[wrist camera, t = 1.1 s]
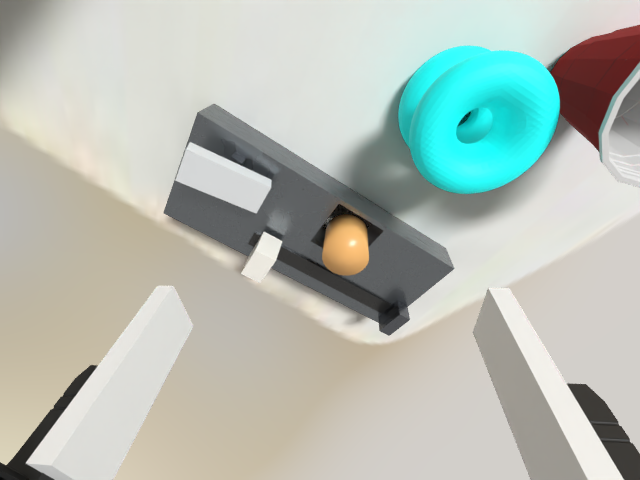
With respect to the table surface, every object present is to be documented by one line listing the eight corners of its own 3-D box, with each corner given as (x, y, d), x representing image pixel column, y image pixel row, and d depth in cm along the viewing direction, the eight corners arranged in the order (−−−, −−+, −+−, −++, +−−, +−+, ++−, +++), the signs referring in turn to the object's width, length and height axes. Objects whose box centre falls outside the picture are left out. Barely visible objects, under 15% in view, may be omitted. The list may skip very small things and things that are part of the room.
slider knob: (249, 253, 36) (240, 273, 33) (263, 231, 34) (255, 250, 31) (267, 263, 37) (260, 283, 34) (282, 241, 34) (275, 261, 32)
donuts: (385, 163, 23) (484, 16, 17) (377, 128, 31) (442, 20, 25) (487, 220, 25) (606, 104, 19) (454, 172, 33) (531, 81, 27)
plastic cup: (574, 157, 31) (677, 217, 21) (490, 106, 29) (560, 146, 19) (693, 42, 25) (916, 52, 15) (596, -31, 23) (781, -77, 13)
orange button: (318, 236, 35) (313, 262, 31) (340, 206, 33) (338, 230, 29) (351, 255, 36) (351, 282, 33) (375, 227, 34) (378, 253, 30)
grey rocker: (179, 172, 29) (175, 180, 28) (190, 141, 27) (185, 149, 26) (257, 205, 32) (256, 213, 31) (271, 179, 30) (271, 187, 29)
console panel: (179, 197, 38) (152, 224, 33) (214, 103, 31) (185, 118, 26) (382, 304, 45) (385, 339, 40) (445, 248, 38) (460, 282, 33)
